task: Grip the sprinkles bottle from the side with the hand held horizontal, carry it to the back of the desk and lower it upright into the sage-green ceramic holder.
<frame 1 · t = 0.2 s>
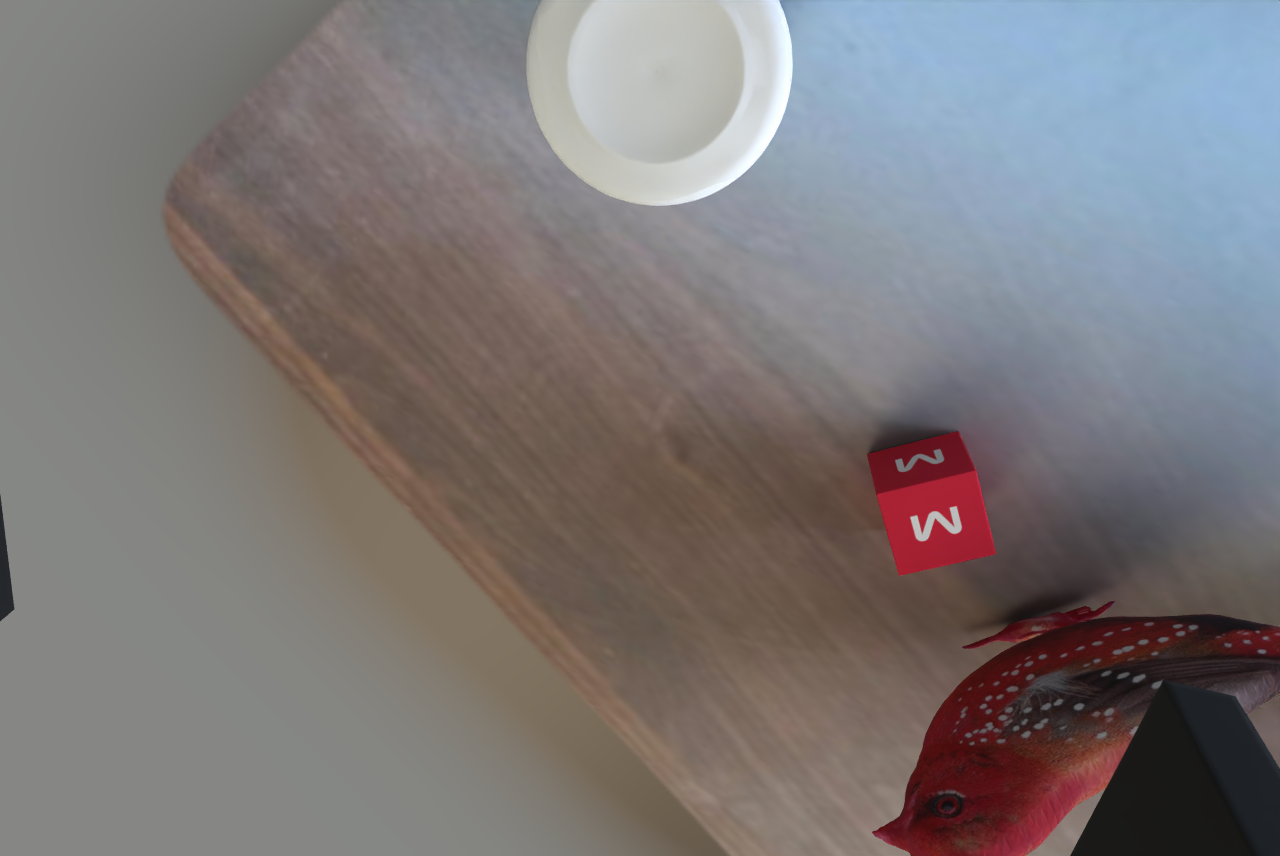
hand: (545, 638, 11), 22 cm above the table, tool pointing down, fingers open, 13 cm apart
sprinkles bottle: (702, 44, 29), on the table
red letter m cube: (921, 479, 34), on the table
decorative bird figurine: (1096, 598, 34), on the table
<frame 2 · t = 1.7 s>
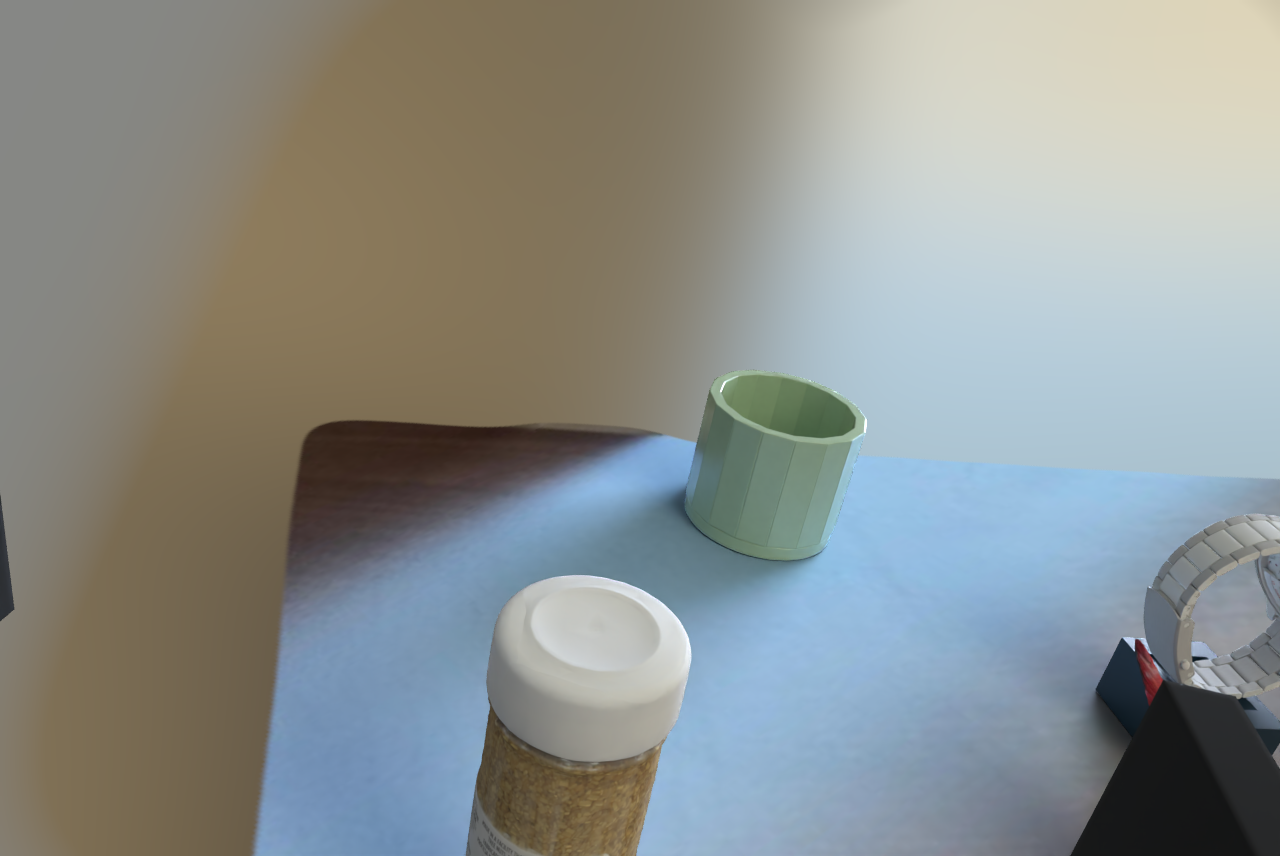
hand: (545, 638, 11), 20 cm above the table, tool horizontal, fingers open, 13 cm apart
watch: (1170, 737, 45), on the table
holder: (757, 517, 55), on the table
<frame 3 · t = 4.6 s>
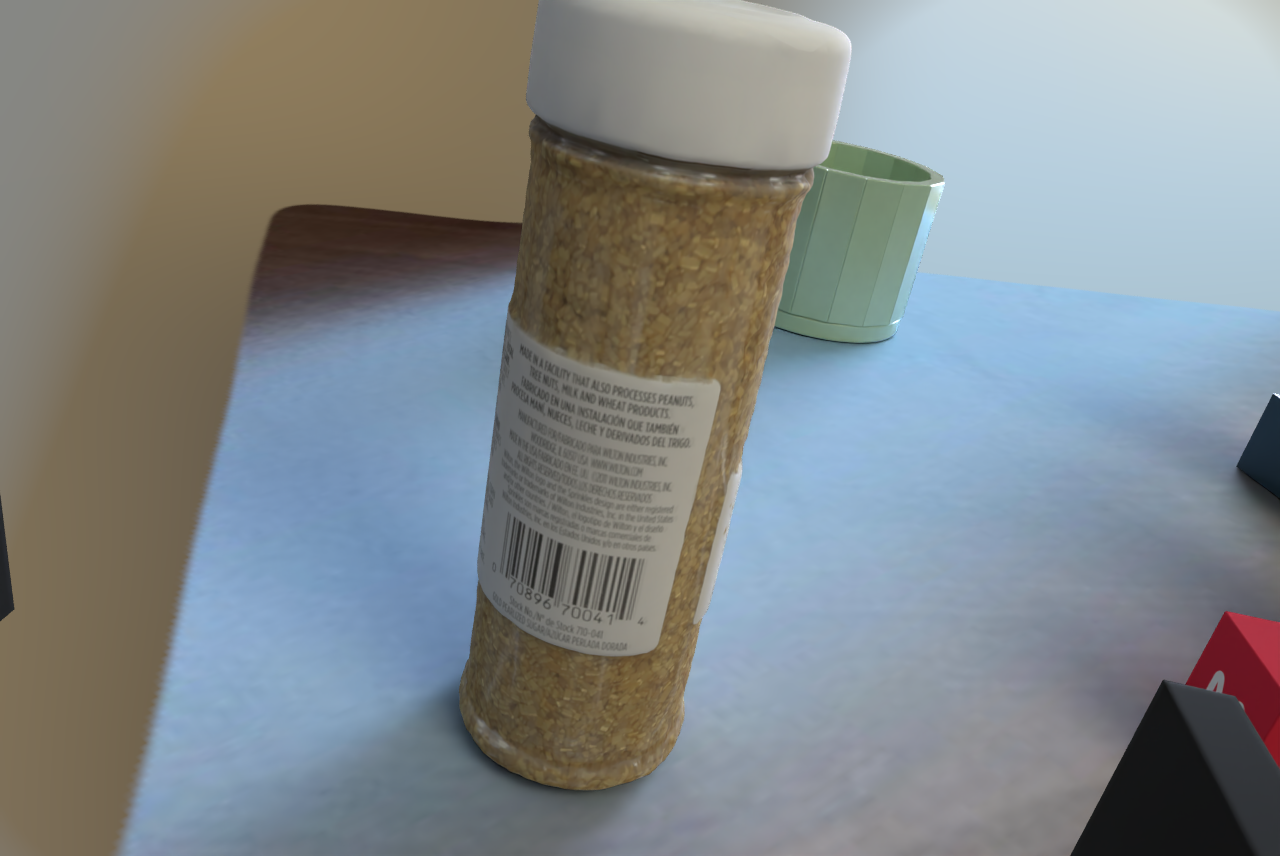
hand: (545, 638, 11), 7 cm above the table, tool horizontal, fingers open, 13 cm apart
sprinkles bottle: (565, 720, 20), on the table
red letter m cube: (1256, 777, 22), on the table
holder: (810, 308, 47), on the table
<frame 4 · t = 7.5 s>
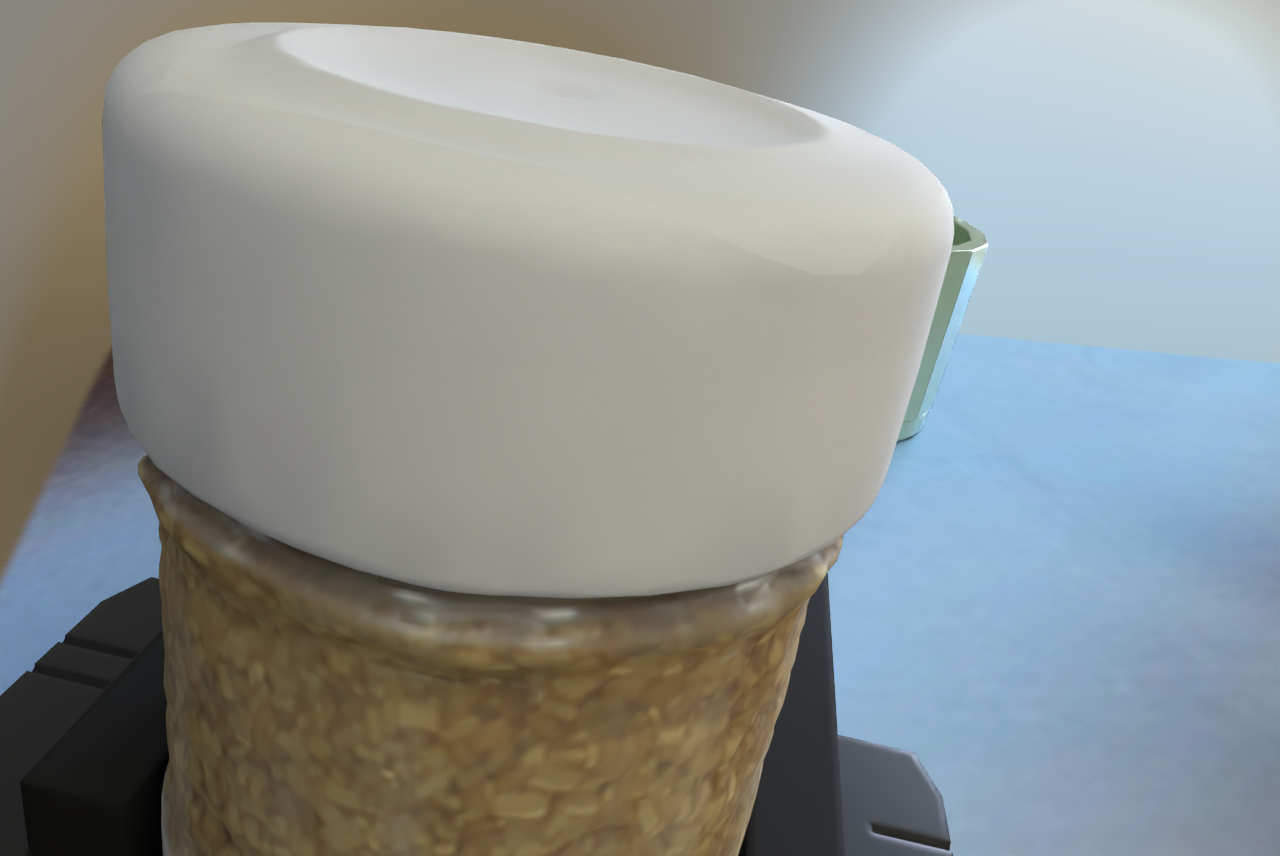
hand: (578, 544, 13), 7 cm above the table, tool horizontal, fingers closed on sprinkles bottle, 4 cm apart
holder: (817, 391, 38), on the table
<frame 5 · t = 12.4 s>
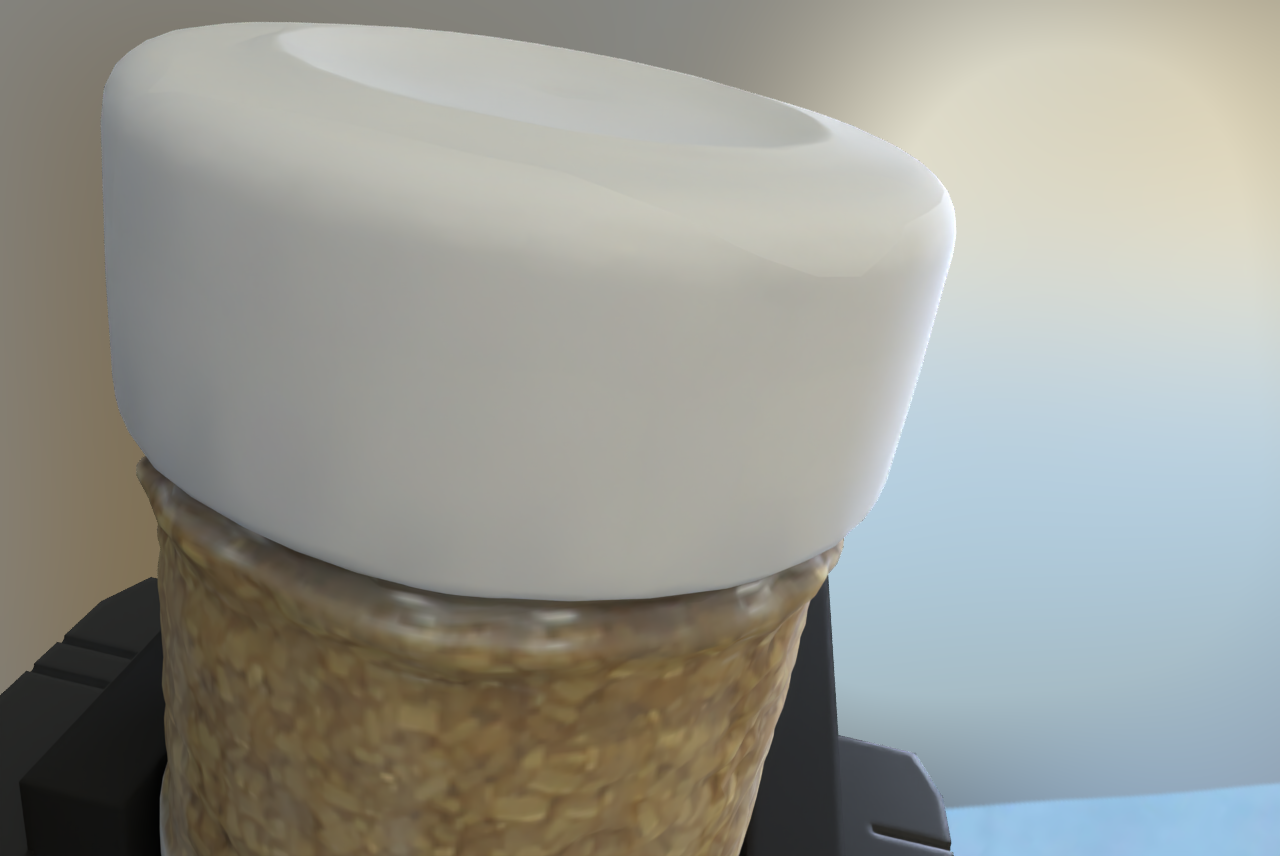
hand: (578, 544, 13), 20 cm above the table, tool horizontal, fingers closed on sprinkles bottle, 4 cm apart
when the fingers open (9 cm above the table, at t = 17.2 s): sprinkles bottle stays where it is, resting on holder.
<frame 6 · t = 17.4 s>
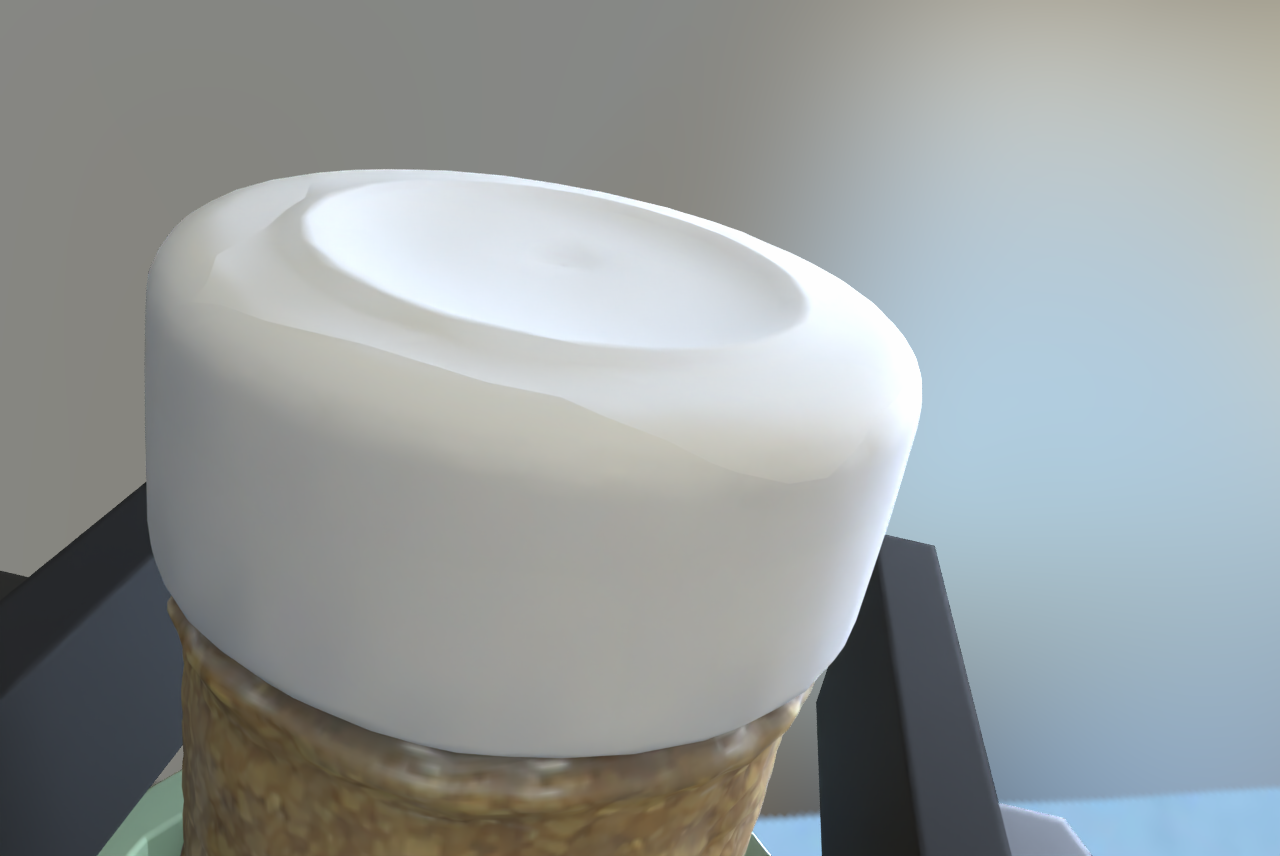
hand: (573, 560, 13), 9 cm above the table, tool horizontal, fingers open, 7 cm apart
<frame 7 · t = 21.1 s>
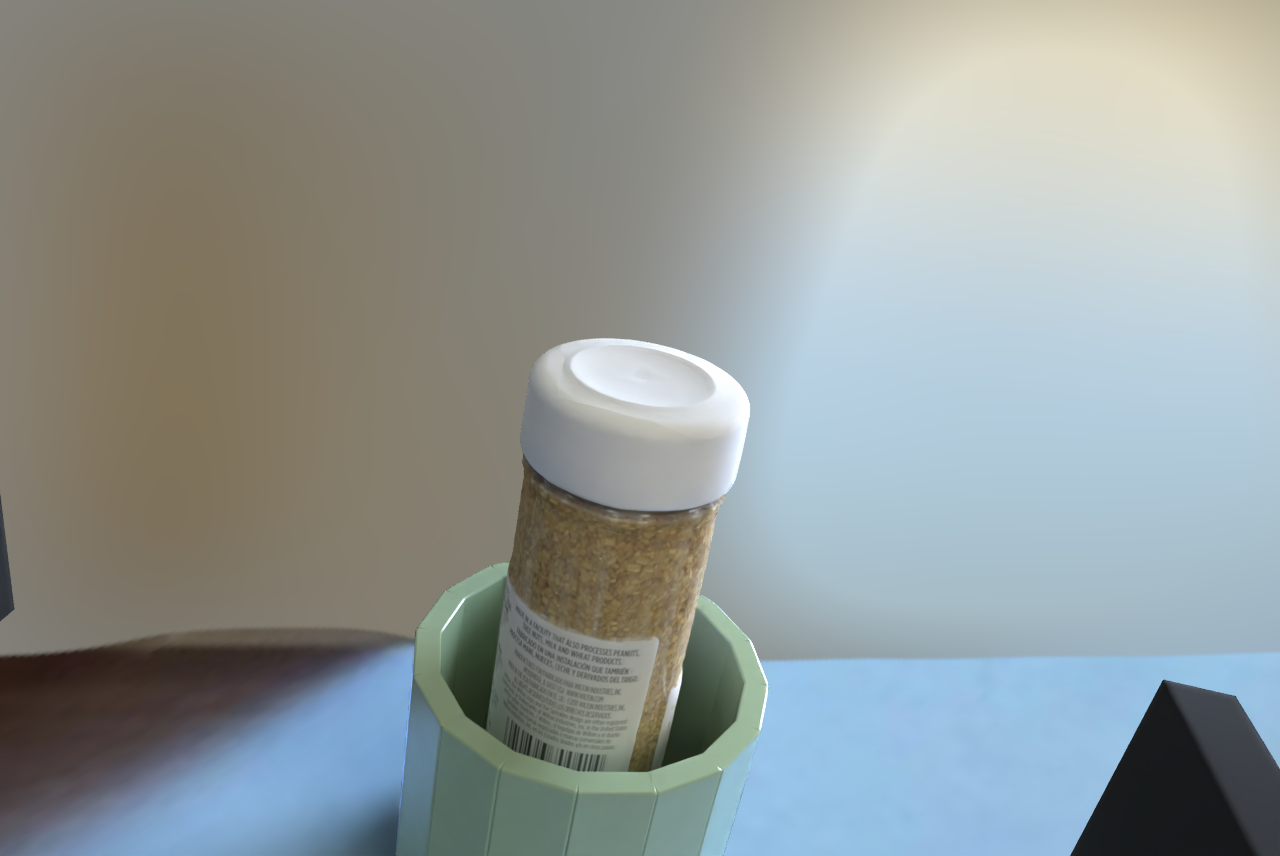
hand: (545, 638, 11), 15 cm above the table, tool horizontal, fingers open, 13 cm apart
sprinkles bottle: (552, 848, 26), point 1 cm above the table, touching holder
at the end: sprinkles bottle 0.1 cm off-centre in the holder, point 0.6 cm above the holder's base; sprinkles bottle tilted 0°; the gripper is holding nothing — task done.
